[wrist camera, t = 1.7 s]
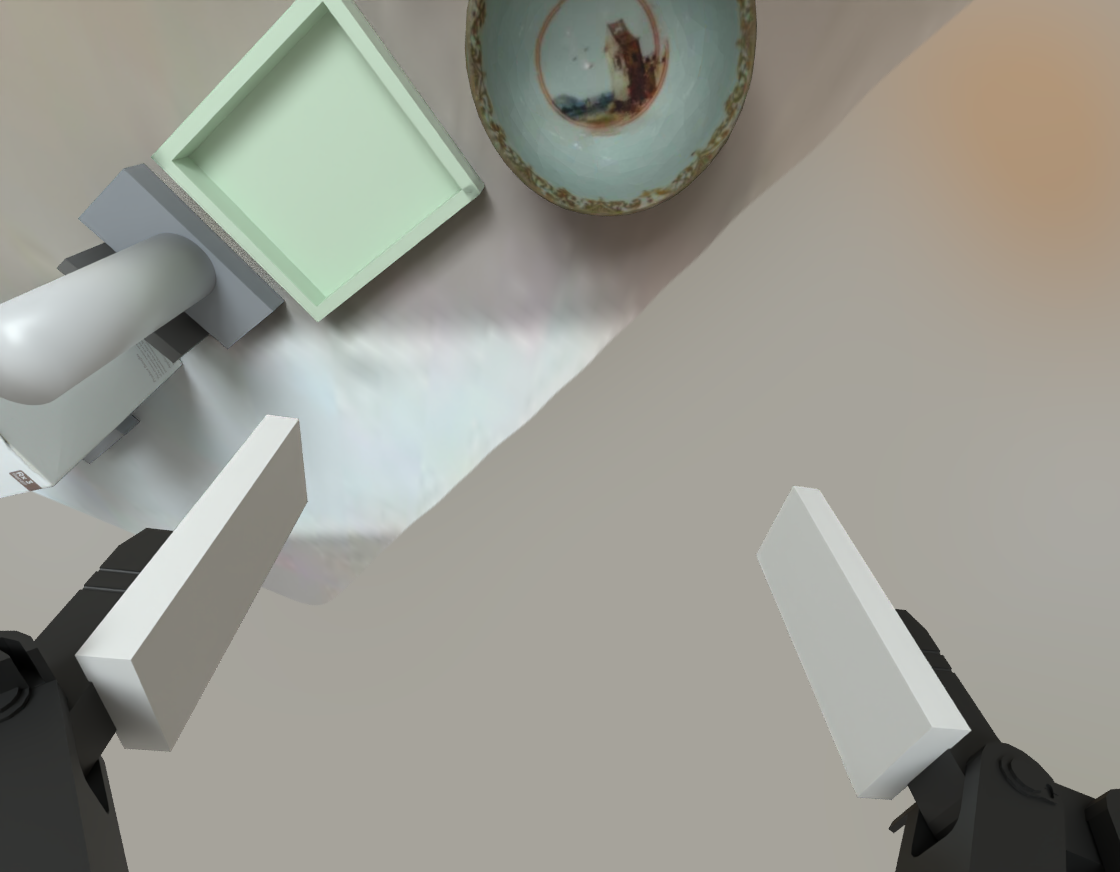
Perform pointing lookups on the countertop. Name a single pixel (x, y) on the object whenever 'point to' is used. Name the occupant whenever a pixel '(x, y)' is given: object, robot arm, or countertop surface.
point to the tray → (320, 156)
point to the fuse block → (128, 296)
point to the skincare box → (74, 419)
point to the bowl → (609, 93)
